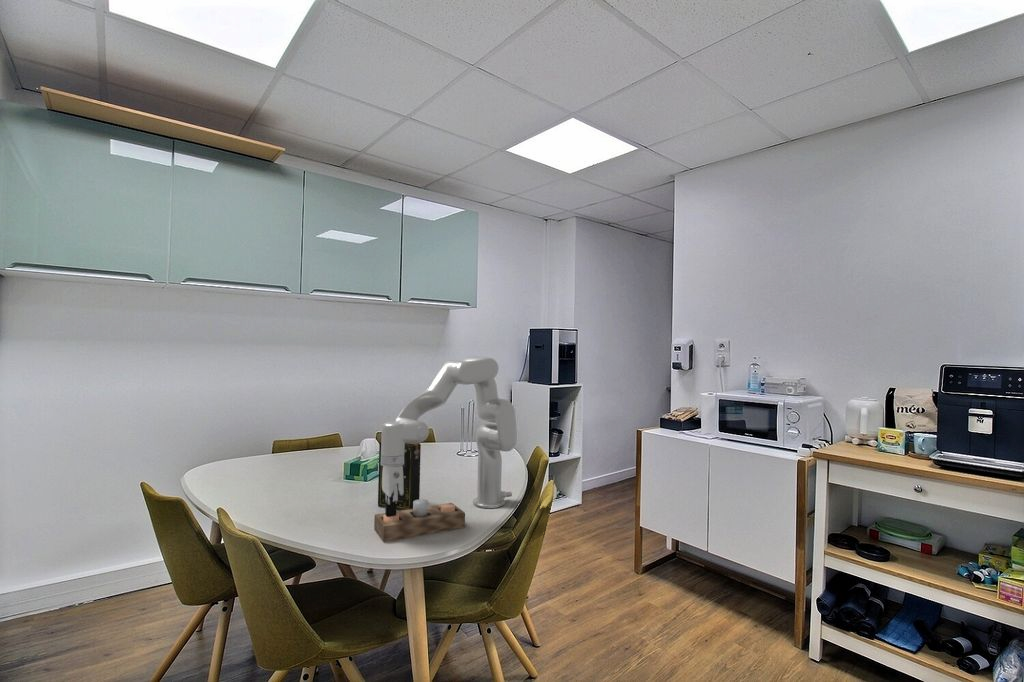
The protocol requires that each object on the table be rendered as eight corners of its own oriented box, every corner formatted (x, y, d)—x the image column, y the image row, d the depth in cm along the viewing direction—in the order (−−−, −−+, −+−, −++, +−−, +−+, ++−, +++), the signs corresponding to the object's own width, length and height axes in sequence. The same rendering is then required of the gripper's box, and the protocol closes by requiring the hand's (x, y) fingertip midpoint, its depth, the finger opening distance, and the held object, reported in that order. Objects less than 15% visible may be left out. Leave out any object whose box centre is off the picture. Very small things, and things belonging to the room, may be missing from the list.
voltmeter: (375, 507, 182) (376, 442, 183) (388, 500, 190) (389, 438, 191) (410, 513, 177) (411, 445, 177) (422, 506, 185) (423, 441, 185)
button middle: (424, 512, 165) (425, 498, 165) (429, 517, 161) (430, 502, 161) (410, 515, 163) (411, 500, 163) (415, 519, 158) (415, 504, 158)
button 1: (396, 526, 160) (396, 511, 160) (400, 531, 156) (401, 516, 156) (381, 529, 158) (381, 514, 158) (385, 534, 153) (385, 518, 153)
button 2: (451, 517, 170) (451, 503, 170) (456, 521, 166) (457, 507, 166) (438, 519, 168) (438, 505, 168) (443, 524, 163) (443, 509, 163)
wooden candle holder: (451, 516, 174) (451, 502, 174) (464, 527, 163) (465, 512, 164) (374, 529, 160) (374, 514, 160) (383, 542, 150) (383, 526, 150)
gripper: (410, 463, 153) (408, 521, 152) (397, 454, 166) (395, 507, 165) (387, 465, 149) (385, 524, 148) (375, 456, 162) (373, 510, 161)
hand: (390, 515), depth 157 cm, fingers closed
